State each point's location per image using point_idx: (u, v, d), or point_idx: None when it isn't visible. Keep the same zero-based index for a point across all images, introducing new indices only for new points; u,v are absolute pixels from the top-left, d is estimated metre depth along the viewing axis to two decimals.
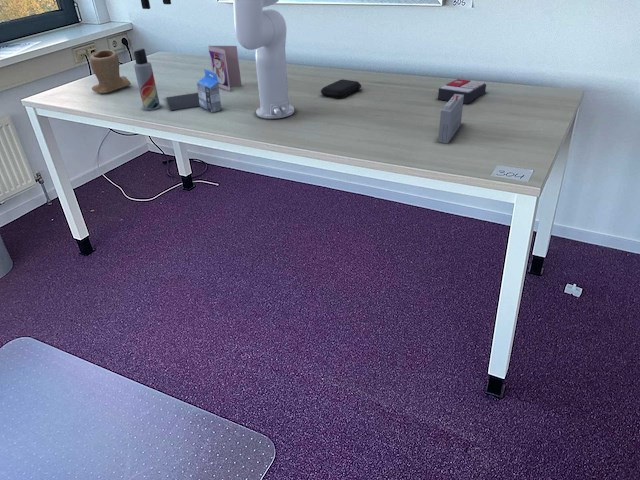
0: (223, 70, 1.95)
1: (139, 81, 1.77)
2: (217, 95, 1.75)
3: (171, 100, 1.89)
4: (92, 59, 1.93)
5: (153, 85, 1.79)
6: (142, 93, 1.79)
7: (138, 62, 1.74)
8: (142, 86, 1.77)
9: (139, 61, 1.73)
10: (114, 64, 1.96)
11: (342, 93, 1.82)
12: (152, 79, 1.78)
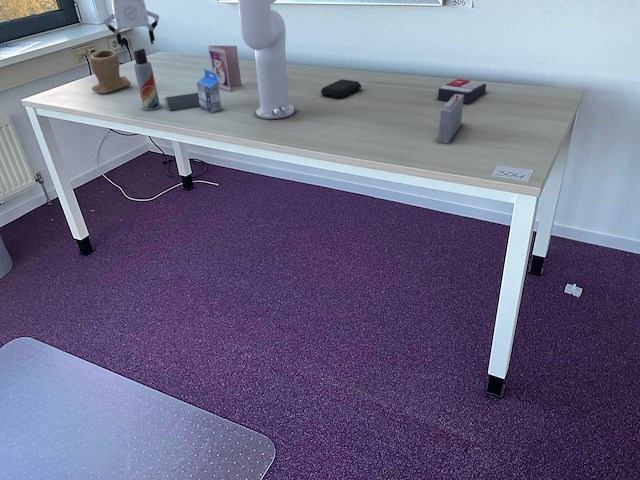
0: (223, 70, 1.95)
1: (139, 81, 1.77)
2: (216, 95, 1.75)
3: (171, 100, 1.89)
4: (92, 59, 1.93)
5: (153, 85, 1.79)
6: (142, 93, 1.79)
7: (138, 62, 1.74)
8: (142, 86, 1.77)
9: (139, 61, 1.73)
10: (114, 64, 1.96)
11: (342, 93, 1.82)
12: (152, 79, 1.78)
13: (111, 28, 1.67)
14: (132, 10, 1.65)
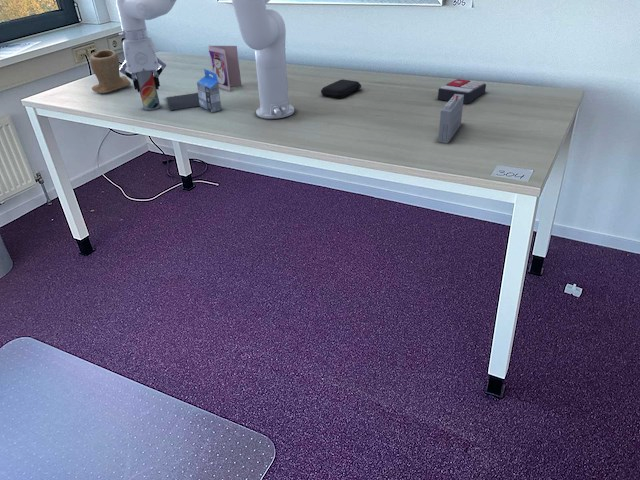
0: (223, 70, 1.95)
1: (139, 81, 1.77)
2: (216, 95, 1.75)
3: (171, 100, 1.89)
4: (92, 59, 1.93)
5: (153, 85, 1.79)
6: (142, 93, 1.79)
7: None
8: (142, 86, 1.77)
9: None
10: (114, 64, 1.96)
11: (342, 93, 1.82)
12: (152, 79, 1.78)
13: (128, 75, 1.75)
14: (142, 56, 1.72)
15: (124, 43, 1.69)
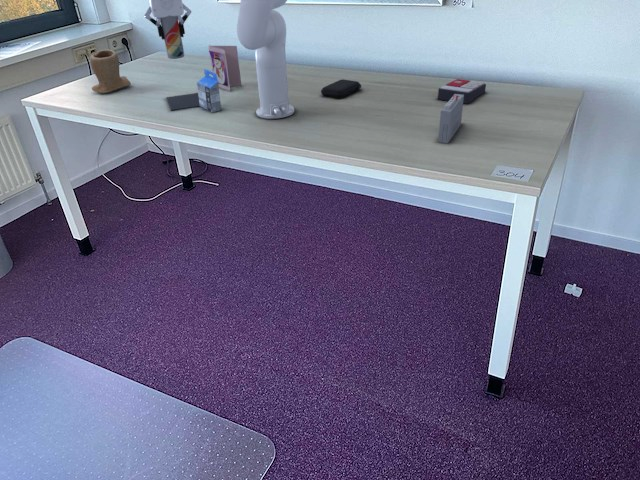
0: (223, 70, 1.95)
1: (164, 27, 1.72)
2: (216, 95, 1.75)
3: (171, 100, 1.89)
4: (92, 59, 1.93)
5: (178, 32, 1.74)
6: (167, 40, 1.74)
7: None
8: (167, 33, 1.72)
9: None
10: (114, 64, 1.96)
11: (342, 93, 1.82)
12: (177, 26, 1.73)
13: (153, 21, 1.71)
14: (168, 0, 1.67)
15: None
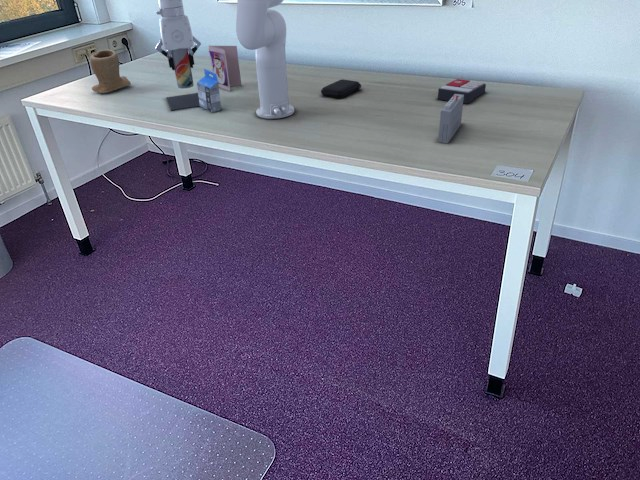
0: (223, 70, 1.95)
1: (174, 59, 1.78)
2: (216, 95, 1.75)
3: (171, 100, 1.89)
4: (92, 59, 1.93)
5: (188, 63, 1.80)
6: (177, 71, 1.80)
7: None
8: (177, 64, 1.78)
9: None
10: (114, 64, 1.96)
11: (342, 93, 1.82)
12: (187, 57, 1.79)
13: (164, 53, 1.77)
14: (179, 33, 1.73)
15: (161, 20, 1.70)
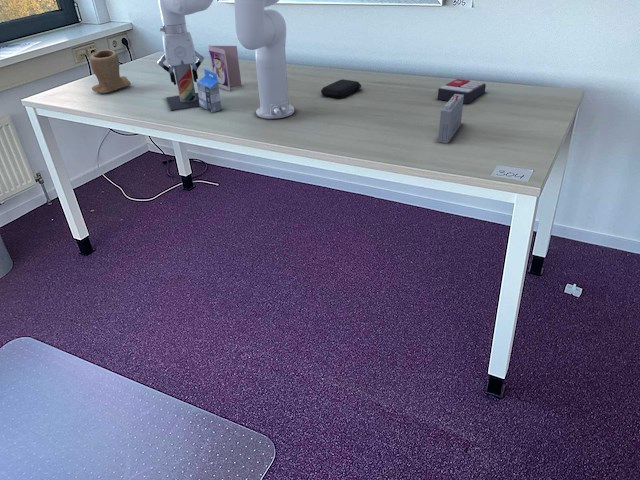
0: (223, 70, 1.95)
1: (177, 74, 1.81)
2: (216, 95, 1.75)
3: (171, 100, 1.89)
4: (92, 59, 1.93)
5: (191, 78, 1.83)
6: (180, 86, 1.83)
7: None
8: (180, 79, 1.81)
9: None
10: (114, 64, 1.96)
11: (342, 93, 1.82)
12: (190, 72, 1.82)
13: (166, 68, 1.79)
14: (182, 49, 1.76)
15: (164, 37, 1.73)
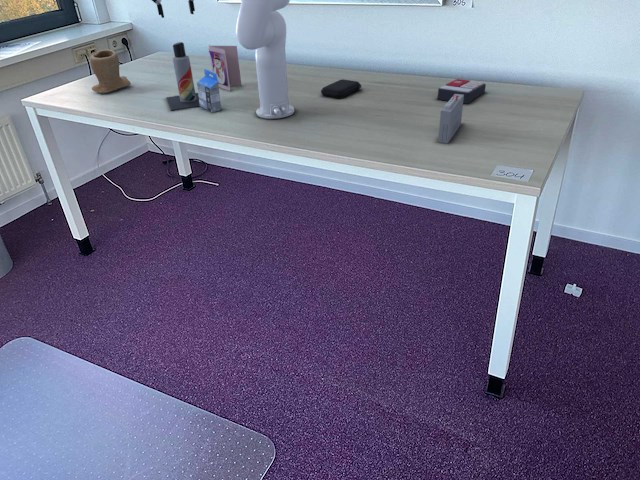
0: (223, 70, 1.95)
1: (177, 74, 1.81)
2: (216, 95, 1.75)
3: (171, 100, 1.89)
4: (92, 59, 1.93)
5: (191, 78, 1.83)
6: (180, 86, 1.83)
7: (177, 55, 1.78)
8: (180, 79, 1.81)
9: (178, 54, 1.77)
10: (114, 64, 1.96)
11: (342, 93, 1.82)
12: (190, 72, 1.82)
13: None
14: None
15: None
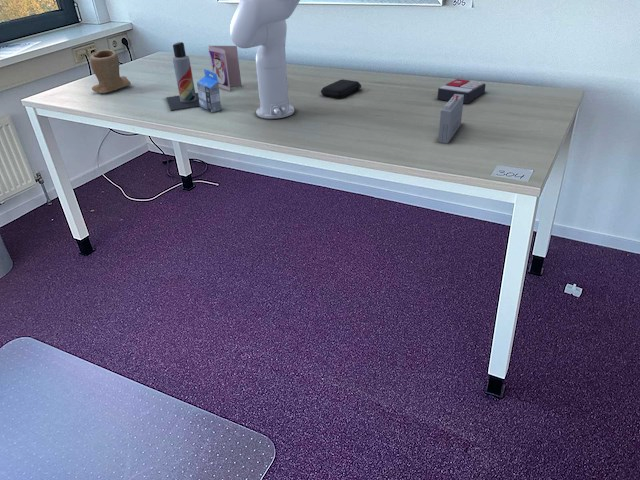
0: (223, 70, 1.95)
1: (177, 74, 1.81)
2: (216, 95, 1.75)
3: (171, 100, 1.89)
4: (92, 59, 1.93)
5: (191, 78, 1.83)
6: (180, 86, 1.83)
7: (177, 55, 1.78)
8: (180, 79, 1.81)
9: (178, 54, 1.77)
10: (114, 64, 1.96)
11: (342, 93, 1.82)
12: (190, 72, 1.82)
13: None
14: None
15: None
